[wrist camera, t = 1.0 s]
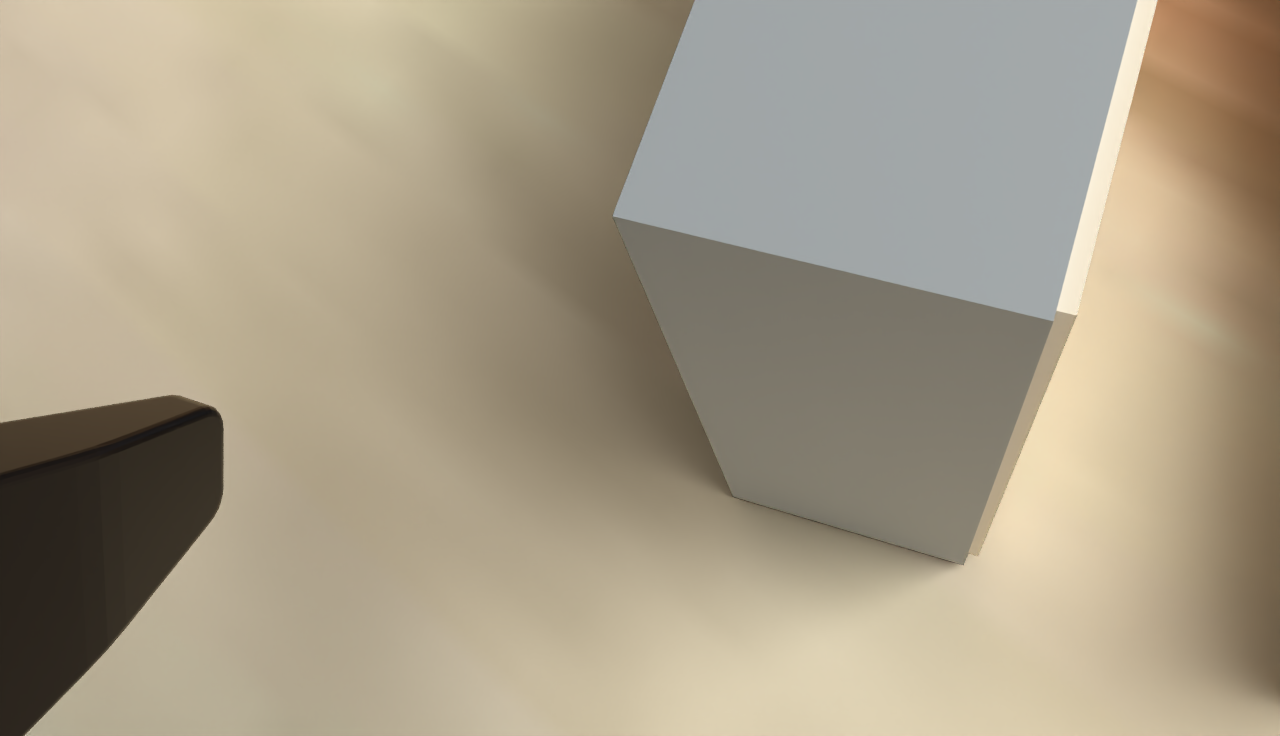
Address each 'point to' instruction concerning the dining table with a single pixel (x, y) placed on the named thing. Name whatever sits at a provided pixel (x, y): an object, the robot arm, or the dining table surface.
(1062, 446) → the dining table surface
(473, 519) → the dining table surface
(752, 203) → the boxed book
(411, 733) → the dining table surface
